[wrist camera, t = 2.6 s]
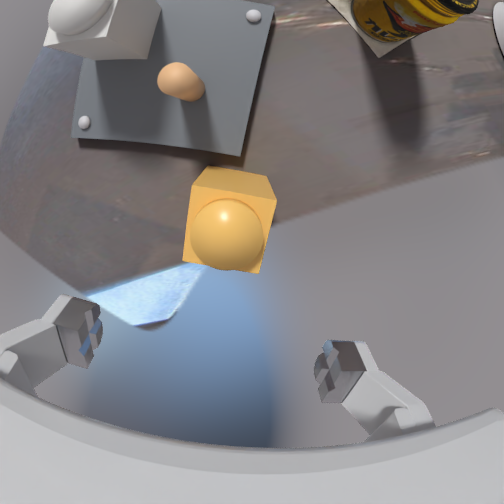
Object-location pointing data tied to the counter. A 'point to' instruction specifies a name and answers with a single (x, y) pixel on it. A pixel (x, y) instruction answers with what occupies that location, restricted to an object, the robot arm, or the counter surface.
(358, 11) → the condiment
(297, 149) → the counter surface
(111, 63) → the plate
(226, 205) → the yellow knob block
